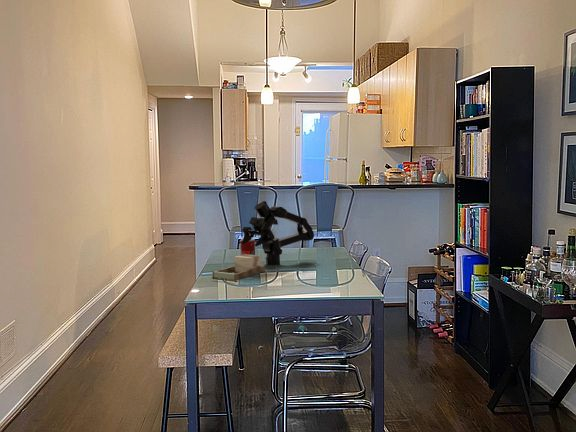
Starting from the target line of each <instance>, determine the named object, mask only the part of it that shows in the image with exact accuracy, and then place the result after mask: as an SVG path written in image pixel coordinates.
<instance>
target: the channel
mask: <svg viewBox="0 0 576 432" xmlns="http://www.w3.org/2000/svg"><path fill="white" fill-rule="evenodd" d="M214 272H224V273H233V274H234V282H235V283H237V282H238V280H240V279H244V278H246V277H250V276H253V275H256V274H260V273H263V272H266V266H265V265H261V267H257V268H254V269H250V270H247V271H243V272H235V265H232V266H229V267H226V268H222V269H217V270H213V271H212V280H215V279H214V278H215V277H214Z"/></svg>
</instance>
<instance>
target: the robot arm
mask: <svg viewBox="0 0 576 432" xmlns="http://www.w3.org/2000/svg"><path fill="white" fill-rule="evenodd" d="M254 209H255V211H256V213H257V214H258V216H259V217H250V220H249V224H251V225H252V228H251V227H250V226H243V227H242V228H241V230H242V233H243V234H244V235H243V237H242V239H243V241H242V244H245V243H247V242H248V241H250V240H251V239H252V238H253V239H254V237H255V236H259V238H258V239H257V241H255V247H258V246H261V247H262V250H263V252H264V254H266V257H265V264H266V265H267V266H276V265H277V266H281V261H280V260H281V255H282V254H283V249H281V248H283V247H286V246H289V245H292V244H295V243H298V242H305V241H307V242H308V241H312V240H313V239H314V236H315V233H314V230H313V228H312V226H311V225H310V224H309V222H308V220H307V218H305V217H302V216H300V215H297V214H295V213H291V212H289V211H287V209H286V208H285V207H282V206H275V205H273V206H271V207H269V205H268V203H267V201H265V200H263V201H261V202H259V203H257V204H255V206H254ZM276 218H277V219H276ZM278 219H283V220H284V219H285V220H287V221H289V222H292V223H295V224H296V225H297V227H296V228H297V229H296V231H297V232H296V233H294V234H291V235H288V236H285V237H281V238H278V237H275V234H274V233H273V230H272V229H271V227H272V226H277V225H279V222H278Z"/></svg>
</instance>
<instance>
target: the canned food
mask: <svg viewBox="0 0 576 432" xmlns="http://www.w3.org/2000/svg"><path fill="white" fill-rule="evenodd" d="M242 241H243V238H240V253H241V255H244V254H248V255H256V246H255V244H256V239H255V238H254V237H253V238H252V239H251V240H250V241H248V242H247V243H245V244H242Z"/></svg>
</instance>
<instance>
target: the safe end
mask: <svg viewBox="0 0 576 432" xmlns="http://www.w3.org/2000/svg"><path fill="white" fill-rule="evenodd" d="M213 278H214V279H213V280H219V281H227V282H232V283H233V282H234V281H235V280H234V274H233V273H224V272H214V277H213Z"/></svg>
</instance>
